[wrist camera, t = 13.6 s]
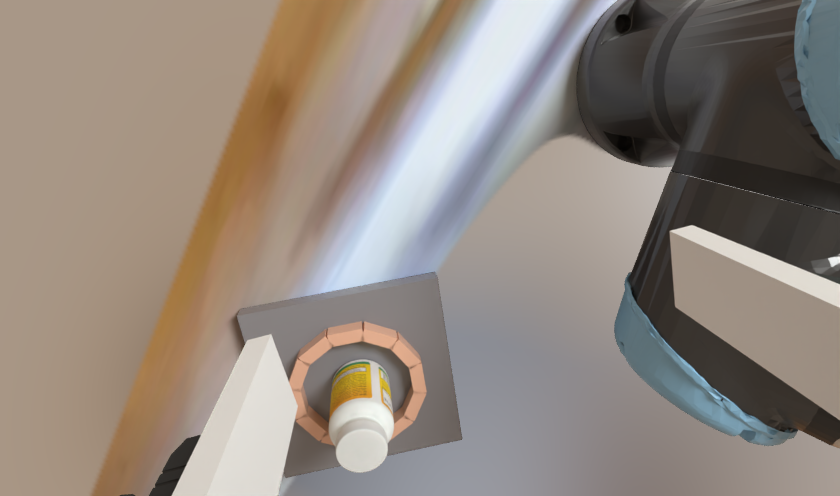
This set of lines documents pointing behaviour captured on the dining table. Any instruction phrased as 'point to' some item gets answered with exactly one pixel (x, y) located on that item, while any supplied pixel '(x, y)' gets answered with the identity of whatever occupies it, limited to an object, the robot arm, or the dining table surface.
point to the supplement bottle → (361, 415)
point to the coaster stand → (363, 339)
